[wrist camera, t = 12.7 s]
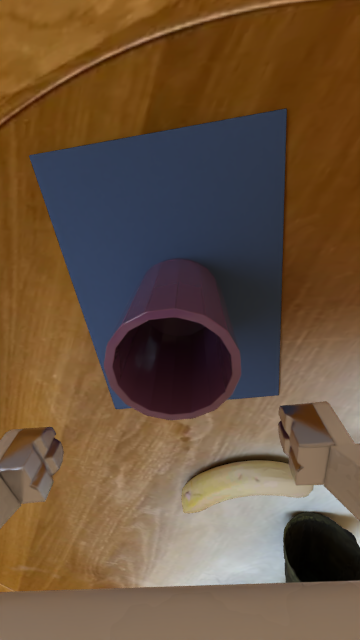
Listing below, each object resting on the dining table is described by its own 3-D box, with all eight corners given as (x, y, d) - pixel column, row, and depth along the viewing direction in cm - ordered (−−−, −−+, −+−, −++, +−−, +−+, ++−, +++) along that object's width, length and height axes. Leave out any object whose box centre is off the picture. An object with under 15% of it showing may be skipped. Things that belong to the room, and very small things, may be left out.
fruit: (175, 456, 30) (173, 486, 27) (312, 448, 29) (325, 479, 26) (183, 493, 34) (182, 523, 31) (306, 488, 32) (318, 519, 29)
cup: (127, 264, 20) (86, 318, 12) (217, 252, 19) (237, 300, 11) (145, 340, 23) (122, 424, 15) (224, 332, 22) (243, 414, 14)
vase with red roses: (280, 458, 41) (249, 576, 56) (190, 545, 31) (181, 664, 45) (403, 554, 30) (326, 671, 45) (331, 743, 20) (260, 818, 34)
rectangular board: (31, 156, 17) (28, 155, 17) (284, 110, 16) (287, 108, 15) (116, 406, 27) (115, 409, 27) (277, 392, 26) (278, 395, 25)
